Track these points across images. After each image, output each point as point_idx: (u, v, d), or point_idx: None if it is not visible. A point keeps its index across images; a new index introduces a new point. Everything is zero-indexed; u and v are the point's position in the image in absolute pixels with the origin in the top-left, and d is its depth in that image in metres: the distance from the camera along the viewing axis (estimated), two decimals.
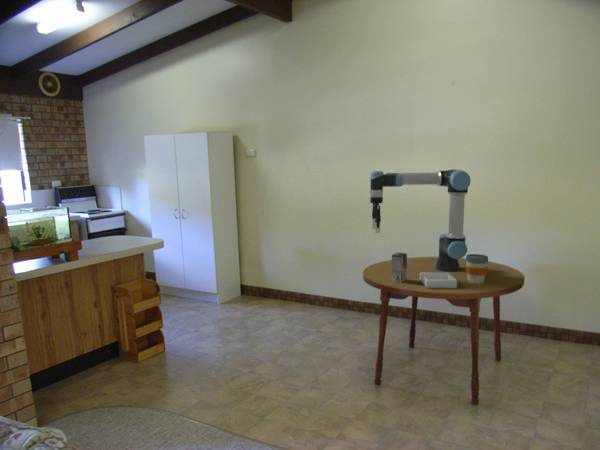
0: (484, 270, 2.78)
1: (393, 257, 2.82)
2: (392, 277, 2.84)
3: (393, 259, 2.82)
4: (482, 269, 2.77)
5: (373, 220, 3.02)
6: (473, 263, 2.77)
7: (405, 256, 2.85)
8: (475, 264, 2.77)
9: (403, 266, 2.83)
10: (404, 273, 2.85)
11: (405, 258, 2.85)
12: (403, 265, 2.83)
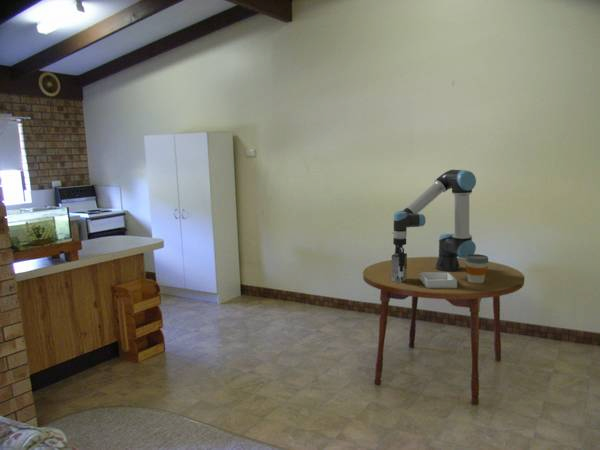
0: (484, 270, 2.78)
1: (393, 257, 2.82)
2: (392, 277, 2.84)
3: (393, 259, 2.82)
4: (482, 269, 2.77)
5: None
6: (473, 263, 2.77)
7: (405, 256, 2.85)
8: (475, 264, 2.77)
9: None
10: (404, 273, 2.85)
11: (405, 258, 2.85)
12: None
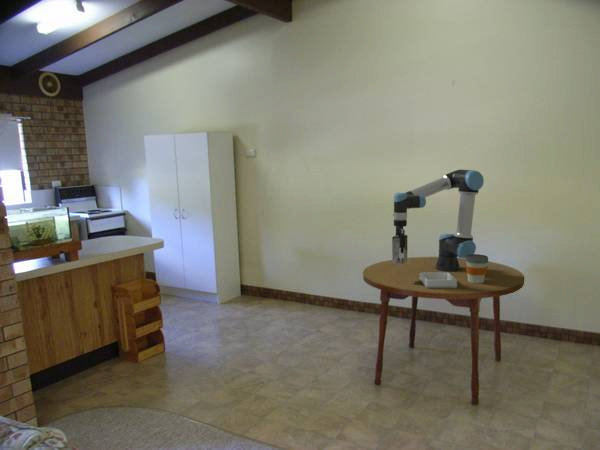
0: (484, 270, 2.78)
1: (394, 239, 2.80)
2: (393, 259, 2.83)
3: (394, 241, 2.81)
4: (482, 269, 2.77)
5: None
6: (473, 263, 2.77)
7: (406, 238, 2.83)
8: (475, 264, 2.77)
9: (404, 247, 2.81)
10: (405, 255, 2.84)
11: (406, 240, 2.83)
12: None
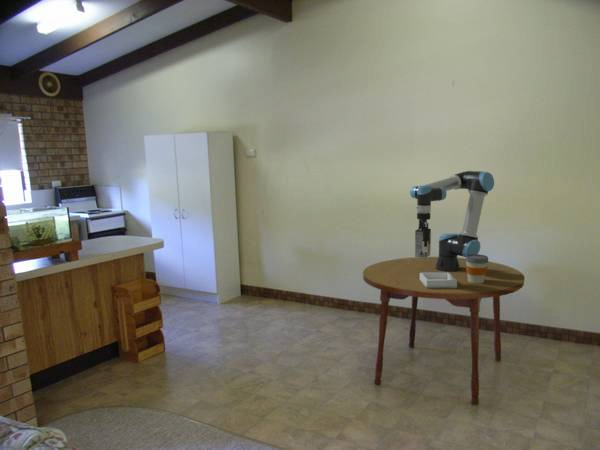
0: (484, 270, 2.78)
1: (417, 232, 2.75)
2: (416, 253, 2.77)
3: (417, 234, 2.75)
4: (482, 269, 2.77)
5: None
6: (473, 263, 2.77)
7: (429, 231, 2.77)
8: (475, 264, 2.77)
9: None
10: (428, 249, 2.78)
11: (429, 233, 2.78)
12: None
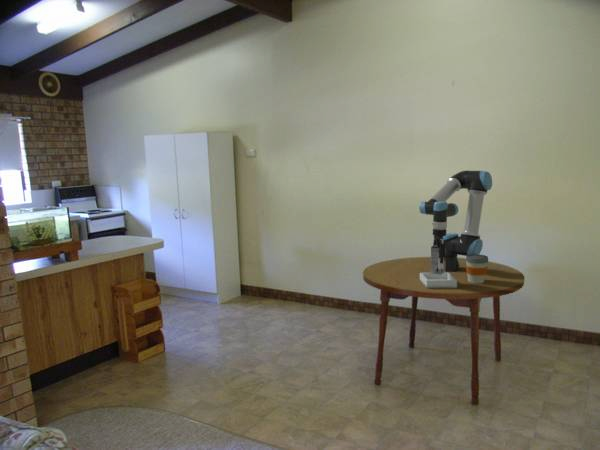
0: (484, 270, 2.78)
1: (433, 248, 2.73)
2: (431, 269, 2.75)
3: (433, 250, 2.73)
4: (482, 269, 2.77)
5: None
6: (473, 263, 2.77)
7: (445, 247, 2.75)
8: (475, 264, 2.77)
9: None
10: None
11: (445, 250, 2.76)
12: None
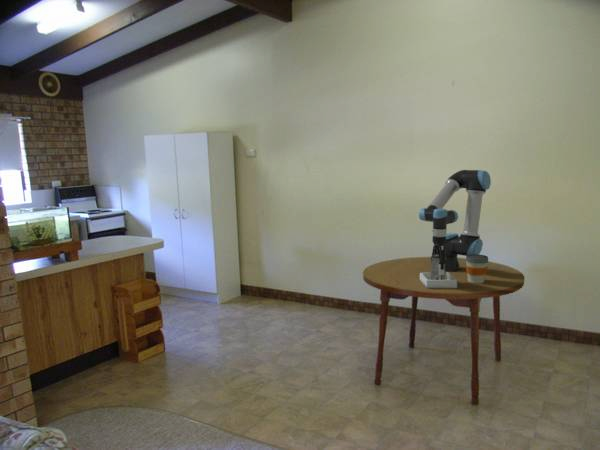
0: (484, 270, 2.78)
1: (432, 258, 2.74)
2: (431, 279, 2.76)
3: (432, 260, 2.74)
4: (482, 269, 2.77)
5: None
6: (473, 263, 2.77)
7: None
8: (475, 264, 2.77)
9: None
10: (443, 275, 2.77)
11: None
12: None
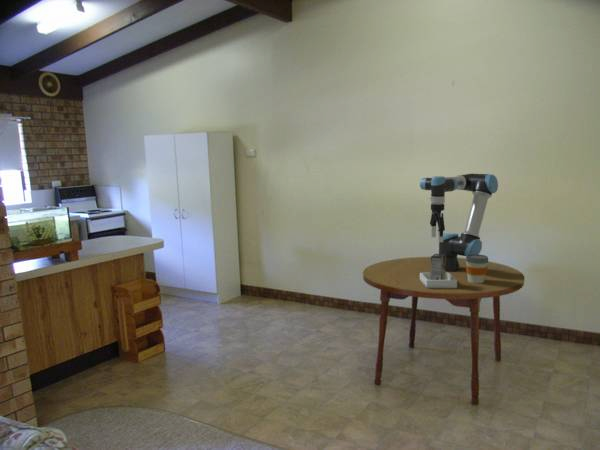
0: (484, 270, 2.78)
1: (432, 258, 2.74)
2: (431, 279, 2.76)
3: (432, 260, 2.74)
4: (482, 269, 2.77)
5: (432, 228, 2.85)
6: (473, 263, 2.77)
7: (445, 257, 2.76)
8: (475, 264, 2.77)
9: (443, 267, 2.75)
10: (443, 275, 2.77)
11: (444, 259, 2.76)
12: (443, 266, 2.74)
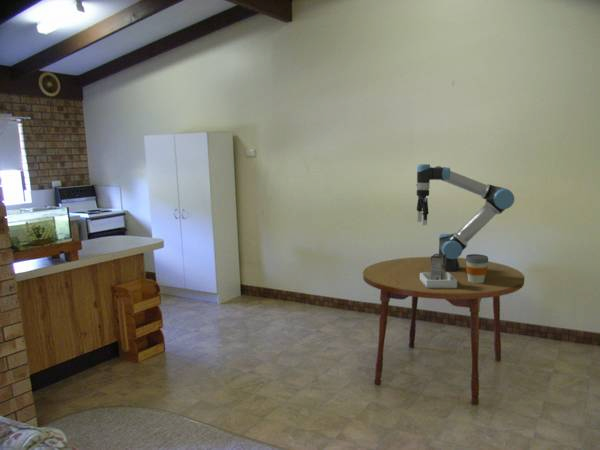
0: (484, 270, 2.78)
1: (433, 258, 2.74)
2: (431, 279, 2.76)
3: (432, 260, 2.74)
4: (482, 269, 2.77)
5: (418, 213, 3.04)
6: (473, 263, 2.77)
7: (445, 257, 2.76)
8: (475, 264, 2.77)
9: (443, 267, 2.75)
10: (443, 275, 2.77)
11: (444, 259, 2.76)
12: (443, 266, 2.74)
